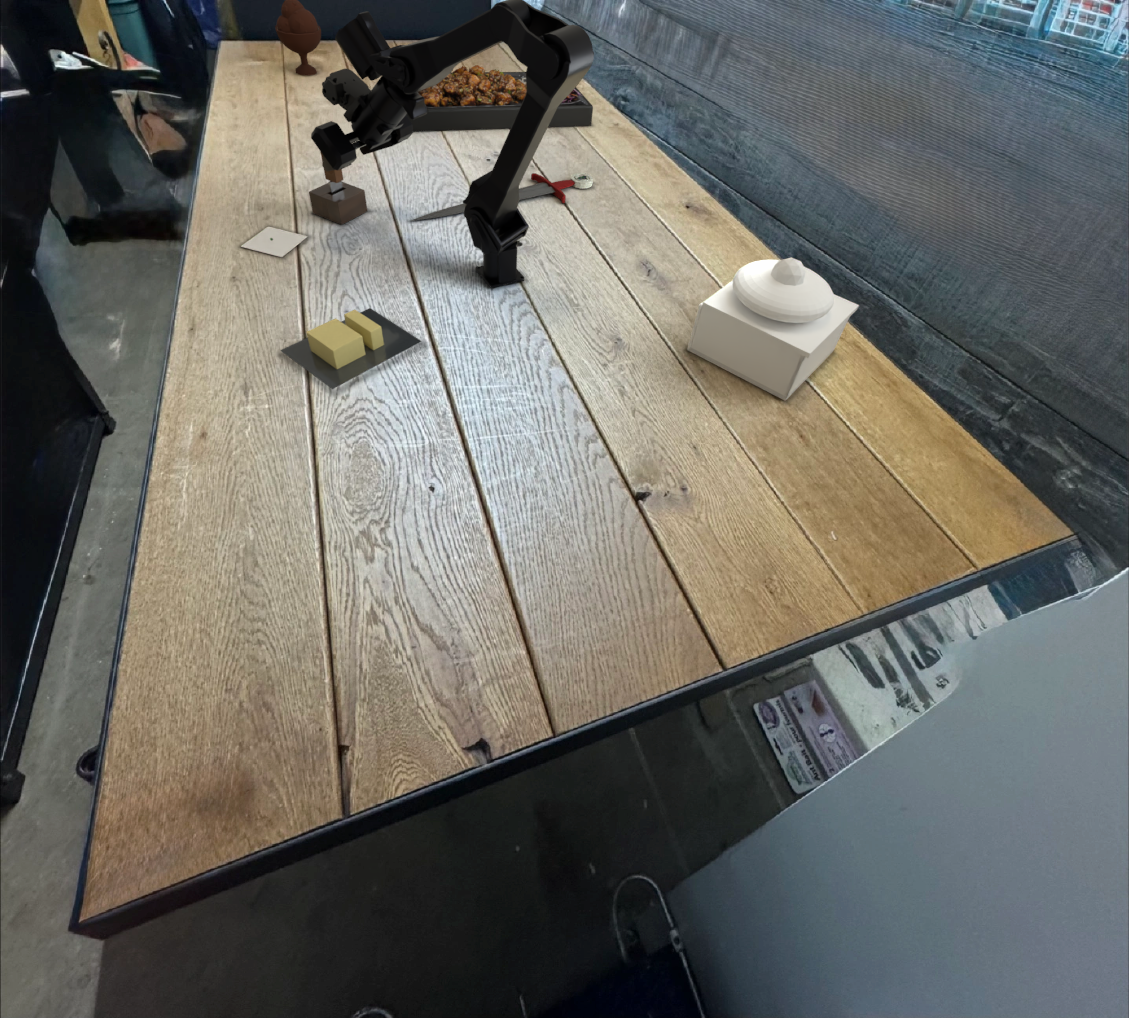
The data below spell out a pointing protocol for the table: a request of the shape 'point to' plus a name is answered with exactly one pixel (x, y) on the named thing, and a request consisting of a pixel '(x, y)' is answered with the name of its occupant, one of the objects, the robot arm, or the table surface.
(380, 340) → the butter slice
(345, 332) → the butter block
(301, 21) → the ice cream bowl
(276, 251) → the coaster
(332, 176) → the knife
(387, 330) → the butter board
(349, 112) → the robot arm
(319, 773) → the table surface
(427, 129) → the food platter
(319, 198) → the knife stand
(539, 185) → the dagger
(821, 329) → the white lidded jar
